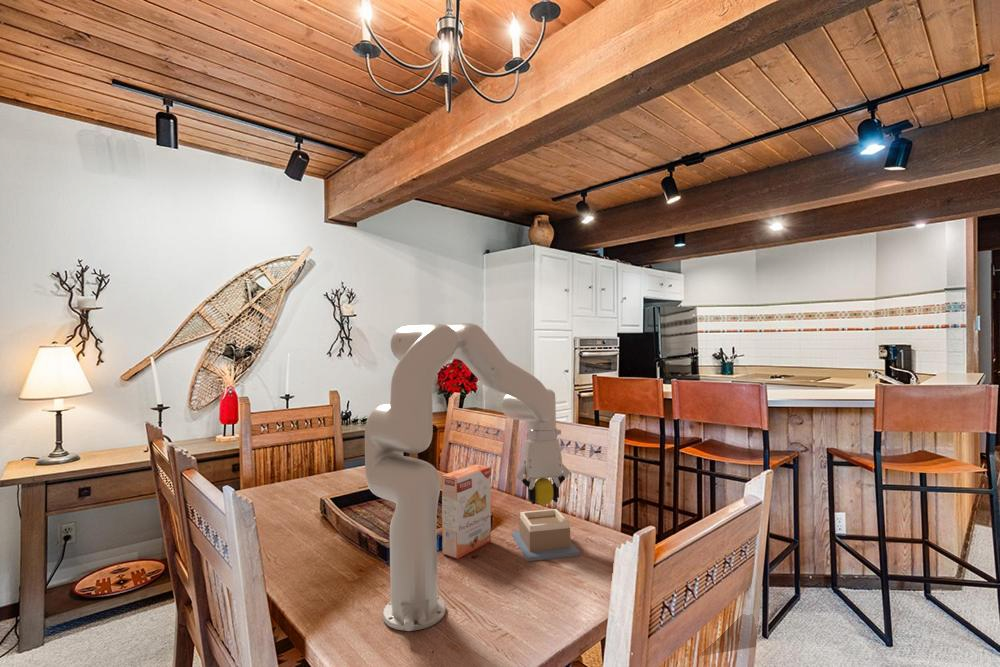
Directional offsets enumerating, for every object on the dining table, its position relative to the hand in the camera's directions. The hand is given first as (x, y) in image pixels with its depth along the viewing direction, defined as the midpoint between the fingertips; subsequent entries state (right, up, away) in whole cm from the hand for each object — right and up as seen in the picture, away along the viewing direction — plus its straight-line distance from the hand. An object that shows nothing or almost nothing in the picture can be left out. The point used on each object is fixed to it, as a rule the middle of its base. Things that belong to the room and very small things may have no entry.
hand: (543, 500), depth 134 cm
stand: (0, -12, 0) cm, 12 cm away
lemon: (0, -2, 0) cm, 2 cm away
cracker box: (-21, -12, -1) cm, 24 cm away
